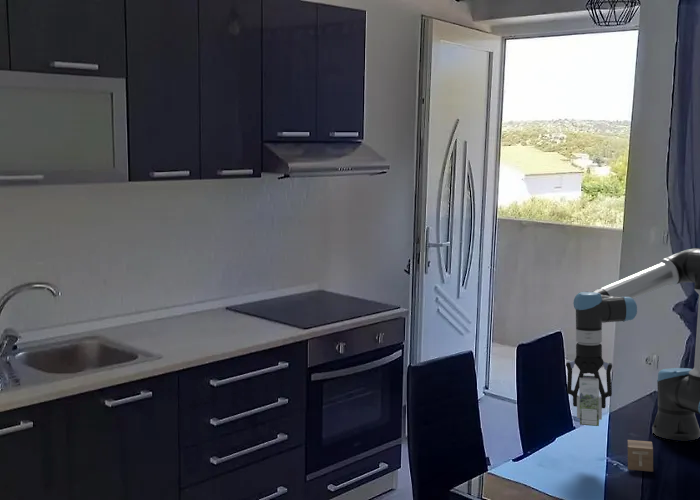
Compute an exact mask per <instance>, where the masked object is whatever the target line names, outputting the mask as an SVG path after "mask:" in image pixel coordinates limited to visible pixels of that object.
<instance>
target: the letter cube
mask: <svg viewBox="0 0 700 500" xmlns="http://www.w3.org/2000/svg"><path fill="white" fill-rule="evenodd" d="M627 470H631V471H639V472H640V471H642V472H652V473H653V472H654V446H653V442H652V441H647V440H634V439H627Z"/></svg>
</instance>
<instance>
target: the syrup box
mask: <svg viewBox="0 0 700 500" xmlns="http://www.w3.org/2000/svg"><path fill="white" fill-rule="evenodd" d="M578 393H579V394H578V395H579V401H580V418H579V425H580V426H581V425H582V426H591V427H599V426H600V420H599V396H600V391H599V380H598V378H595V376H594V375H586V374H584V375H583V378H580V379H579V390H578Z"/></svg>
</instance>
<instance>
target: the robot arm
mask: <svg viewBox="0 0 700 500" xmlns="http://www.w3.org/2000/svg"><path fill="white" fill-rule="evenodd" d="M683 283H691V284H692V283H693V284H694V286H693V288H694V291H695V292H696V293H697V294H698V308H697V321H696V333H695V334H696V337H695V350H694V352H695V353H694V365H693V368H687V367H673V368H672V367H671V368H669V367H668V368H663V369H661V370H659V371H658V373H657V380H656V382H657V385H656V386H657V413H656V415H655V419H654V422H653V424H652V434H653V433H654V434H655V435H656V436H659V437H662V438H666V439H673V440H681V441H688V440H695V439H698V438H699V437H700V426H699V423H698V419H697V417H696V414H697V415H700V248H698V247H693V248H689V249H684V250H682V251H678V252H676V253H674V254H671V255H668V256H667V257H664V258H661V259H660V260H659V261H658V262H657V264H655V265H653V266H650V267H648V268H645V269H643V270H641V271H638V272H635V273H633V274H631V275H629V276H626V277H624V278H622V279H620V280H616V281H614V282H612V283H609V284H607V285H605V286H602V287H600V288H598V289H595V290H593V291H581V292H579V293H577V294H576V295H575V296H574V299H573V303H572V304H573V307H574V308H573V309H574V310H575V341H576V342H577V343H576V344H575V358H574V359H573V360H571V361H570V360H568V361H566V363H565V366H566V369H567V378H566V379H567V382H566V383H567V384H566V393H567V394H568V395H570V396H572V406H573V407H576V418H577V419H580V401H579V394H578V393H579V379H580V378H583V375H586V374H590V375H593V376H595V378H598V380H599V421H600V420H602V419H603V418H602V417H603V415H602V414H603V413H602V412H603V409H606V402H607V400H606V399H607V398H608V397H612V395H613V394H612V393H613V392H612V391H613V390H612V376H611V371H612V368H613V364H612V362H609V363H608V362H605V361H604V359H603V345H602V342H603V337H602V336H603V335H602V334H603V331H602V329H603V328H602V327H603V324H606V323H615V322H617V323H619V322H628V321H631V320H634V319H635V318H636V317H637V314H638V305H637V303H636V300H635V299H637V298H639V297H641V296H642V297H643V296H644V295H646V294H649V293H651V292H654V291H656V290H659V289H661V288H663V287H666V286H672V287H673V286H676V285H678V284H683ZM575 366H576V367H577V368H578V370H579V373H578V376H577V380H576V382H575V386H574V389H572V385H573V384H572V382H573V369H574V367H575ZM602 366H603V367H604V370H605V371H606V372H605V373H606V375H605V376H606V377H605V378H606V390H607V391H605V388H604V385H603V382H602V379H601V376H600V372H599V371H600V370H601V368H602ZM655 435H654V436H655ZM656 436H655V437H656Z"/></svg>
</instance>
